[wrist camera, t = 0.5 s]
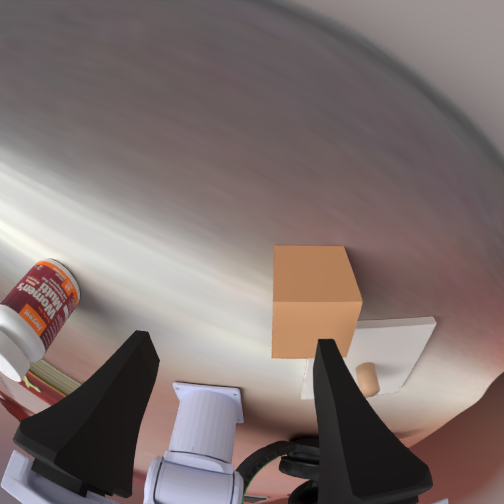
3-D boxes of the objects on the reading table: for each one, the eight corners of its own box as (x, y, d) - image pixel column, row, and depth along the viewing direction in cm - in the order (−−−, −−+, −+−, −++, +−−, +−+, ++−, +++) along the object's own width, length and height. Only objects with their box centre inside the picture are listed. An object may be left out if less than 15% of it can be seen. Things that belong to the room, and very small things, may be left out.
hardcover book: (104, 416, 44) (97, 433, 40) (15, 360, 39) (6, 375, 35) (113, 398, 38) (105, 419, 34) (9, 330, 33) (-4, 348, 29)
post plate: (396, 385, 30) (402, 412, 26) (300, 392, 31) (301, 421, 27) (432, 316, 23) (447, 346, 20) (313, 321, 24) (317, 357, 21)
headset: (350, 406, 48) (206, 455, 34) (407, 401, 37) (248, 480, 23) (361, 479, 41) (231, 541, 27) (416, 486, 31) (276, 578, 16)
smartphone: (193, 482, 70) (192, 487, 68) (269, 495, 73) (269, 499, 72) (186, 487, 77) (185, 490, 75) (255, 499, 80) (255, 503, 78)
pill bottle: (85, 276, 24) (21, 368, 14) (79, 313, 27) (30, 395, 17) (38, 245, 23) (-33, 322, 13) (36, 286, 26) (-18, 357, 16)
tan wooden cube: (334, 299, 23) (346, 357, 18) (273, 299, 23) (271, 358, 18) (343, 246, 20) (362, 301, 15) (274, 245, 21) (273, 301, 16)
